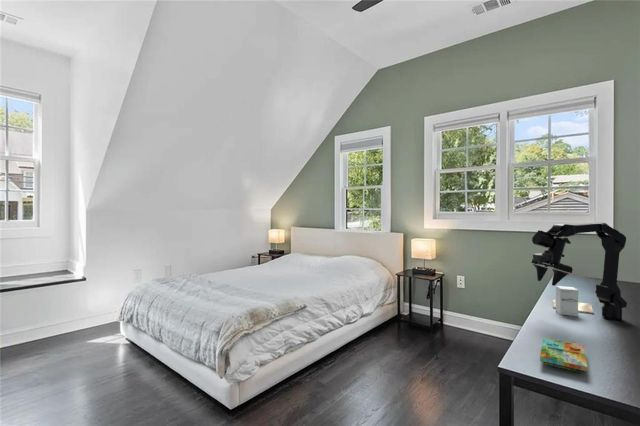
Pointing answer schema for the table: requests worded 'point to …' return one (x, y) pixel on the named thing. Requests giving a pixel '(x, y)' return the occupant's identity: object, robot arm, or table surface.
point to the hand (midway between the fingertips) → (545, 283)
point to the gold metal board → (580, 307)
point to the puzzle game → (564, 355)
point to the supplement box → (567, 300)
